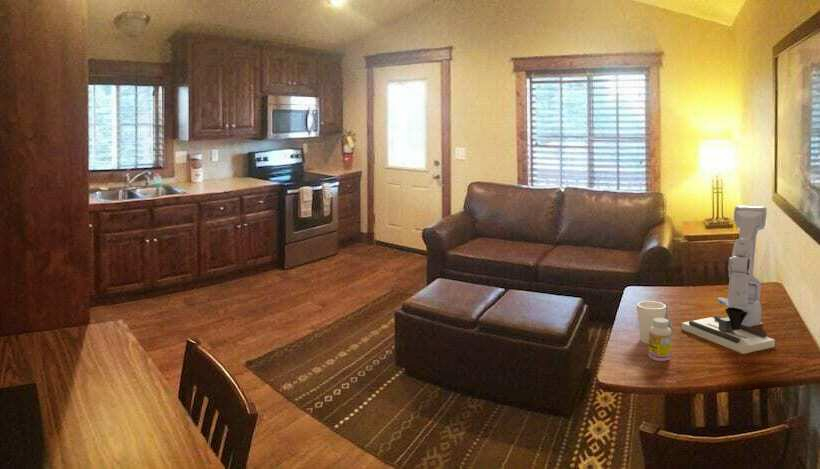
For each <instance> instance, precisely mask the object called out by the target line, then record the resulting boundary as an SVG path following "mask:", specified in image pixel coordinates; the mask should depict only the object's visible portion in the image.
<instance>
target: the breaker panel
mask: <svg viewBox="0 0 820 469" xmlns="http://www.w3.org/2000/svg"><path fill="white" fill-rule="evenodd" d="M693 321H694V322H696V323H699V324H702V325H704V326H707V327H710V328H712V329H715V330H718V329H719V321H717V320H715V319H714V317H711V316H710V317H706V318H704V317H703V318H699V319H694V320H693ZM681 330H682V331H685V332H687V333H690V334H692V335H695V336H698V337H700V338H702V339H705V340H707V341H710V342H712V343H715V344H717V345H720V346H722V347H725V348H727V349H730V350H732V351H735V352H737V353H739V354H742V355H744V354H749V353H752V352H758V351H763V350H766V349H771V348H775V344H776V340H775V339H774V338H771V337H768V336H766V337H762V336H759V335H756V334H753V333H751V332H748V331H745V330H742V329H739V330H734V331H730V332H724V331H721V330H718V331H720V332H723V333H726V334H728V335H731V336H734V337H736V338H739V339H740V342H739V343H736V342H733V341H731V340H728V339H726V338H723V337H720V336H718V335H715V334H712V333H710V332H707V331H705V330H702V329H699V328H697V327H694V326H692V325H689V321H684V322H681Z"/></svg>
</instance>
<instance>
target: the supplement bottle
mask: <svg viewBox="0 0 820 469" xmlns="http://www.w3.org/2000/svg"><path fill="white" fill-rule="evenodd" d="M653 324H654V325H653V326H651V327H650V329H649V344H648V358H650V359H651V360H653V361H658V362H666V361H669V360H670V359H671V354H672V334H673V331H671V329H670V328H669V327H668V325H669V320H668V319H665V318H654V319H653Z"/></svg>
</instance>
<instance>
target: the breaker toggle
mask: <svg viewBox="0 0 820 469" xmlns="http://www.w3.org/2000/svg"><path fill="white" fill-rule="evenodd" d="M718 330H721V331H724V332H730V331H734V330H733V329H732V327H731V322H730V319H729V316H726V317H722V318H720V319H719V329H718Z"/></svg>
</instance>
